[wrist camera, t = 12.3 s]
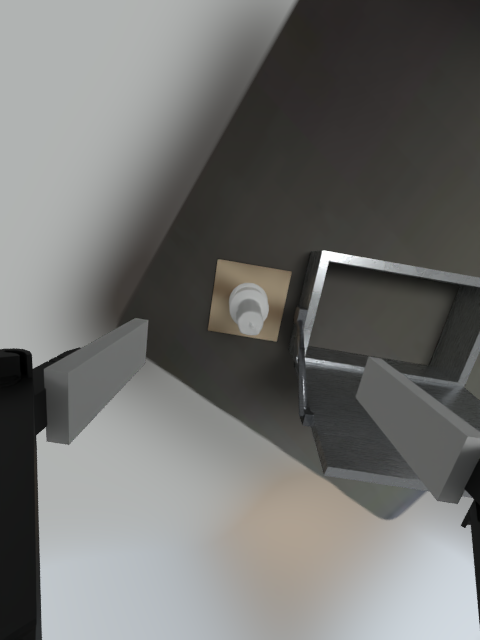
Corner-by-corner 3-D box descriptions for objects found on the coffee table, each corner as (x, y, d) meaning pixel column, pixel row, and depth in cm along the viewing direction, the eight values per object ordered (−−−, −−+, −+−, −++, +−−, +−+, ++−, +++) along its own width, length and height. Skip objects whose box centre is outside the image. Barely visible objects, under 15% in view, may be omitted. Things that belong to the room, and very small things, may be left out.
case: (303, 250, 32) (381, 239, 14) (470, 279, 33) (755, 306, 15) (277, 366, 36) (311, 475, 18) (426, 390, 37) (604, 519, 19)
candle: (275, 306, 34) (291, 332, 22) (243, 327, 35) (242, 363, 23) (253, 274, 33) (259, 283, 21) (221, 297, 34) (209, 317, 22)
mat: (218, 259, 33) (217, 259, 32) (291, 271, 33) (291, 271, 33) (208, 329, 35) (207, 330, 35) (276, 340, 35) (276, 341, 35)
